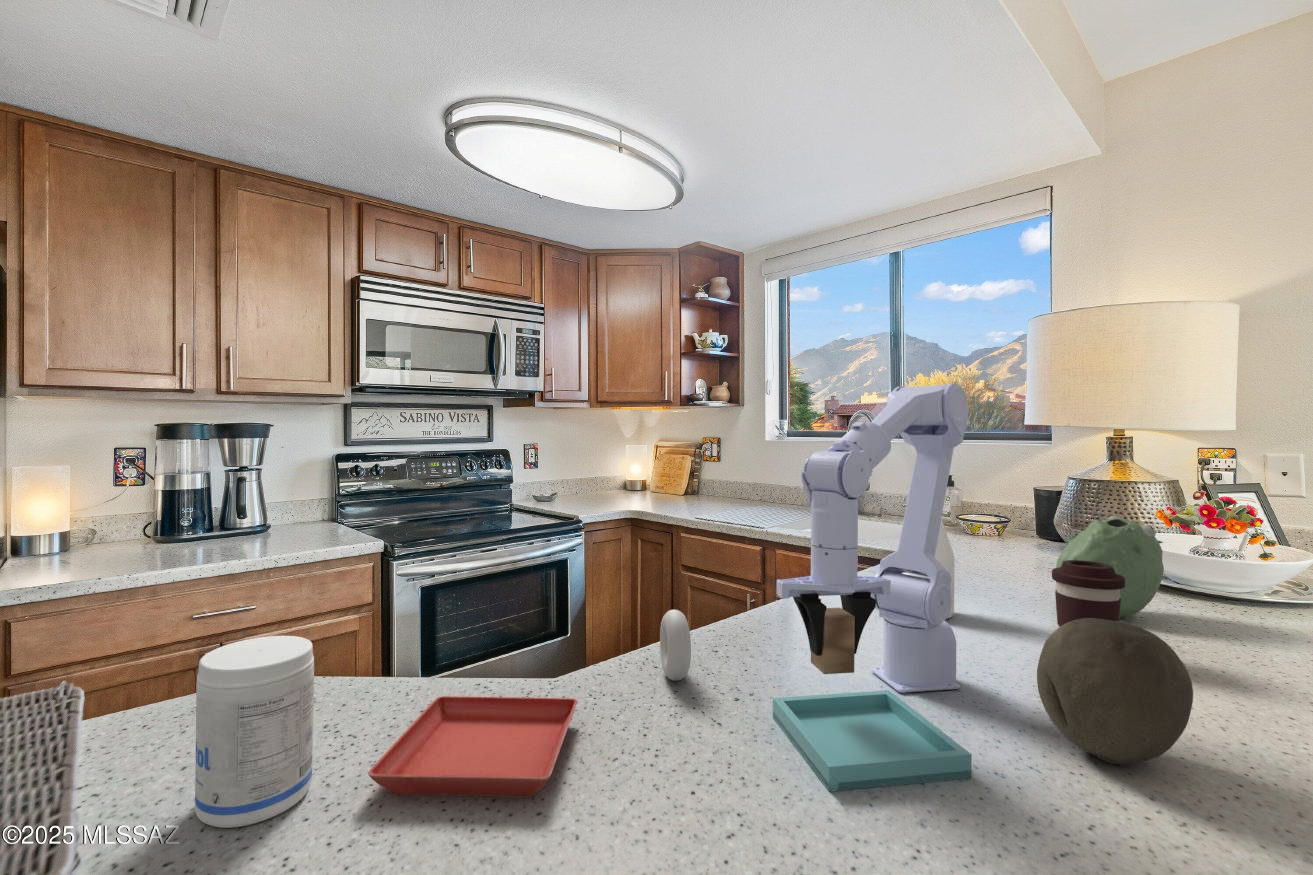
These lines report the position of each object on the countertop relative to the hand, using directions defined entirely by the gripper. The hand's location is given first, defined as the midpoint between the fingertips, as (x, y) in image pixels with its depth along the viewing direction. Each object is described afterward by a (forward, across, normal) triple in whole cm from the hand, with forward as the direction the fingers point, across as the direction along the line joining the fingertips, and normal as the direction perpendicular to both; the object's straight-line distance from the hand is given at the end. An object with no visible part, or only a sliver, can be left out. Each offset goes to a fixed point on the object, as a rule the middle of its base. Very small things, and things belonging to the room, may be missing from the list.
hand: (833, 651), depth 76 cm
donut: (+9, -18, +15) cm, 25 cm away
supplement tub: (+9, -63, -8) cm, 65 cm away
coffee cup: (+8, +52, +16) cm, 55 cm away
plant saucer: (+9, -42, -3) cm, 43 cm away
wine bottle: (+8, +39, +40) cm, 56 cm away
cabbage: (+8, +75, +34) cm, 83 cm away
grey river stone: (+9, +28, -12) cm, 32 cm away
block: (+2, 0, 0) cm, 2 cm away
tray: (+8, +1, -7) cm, 11 cm away
